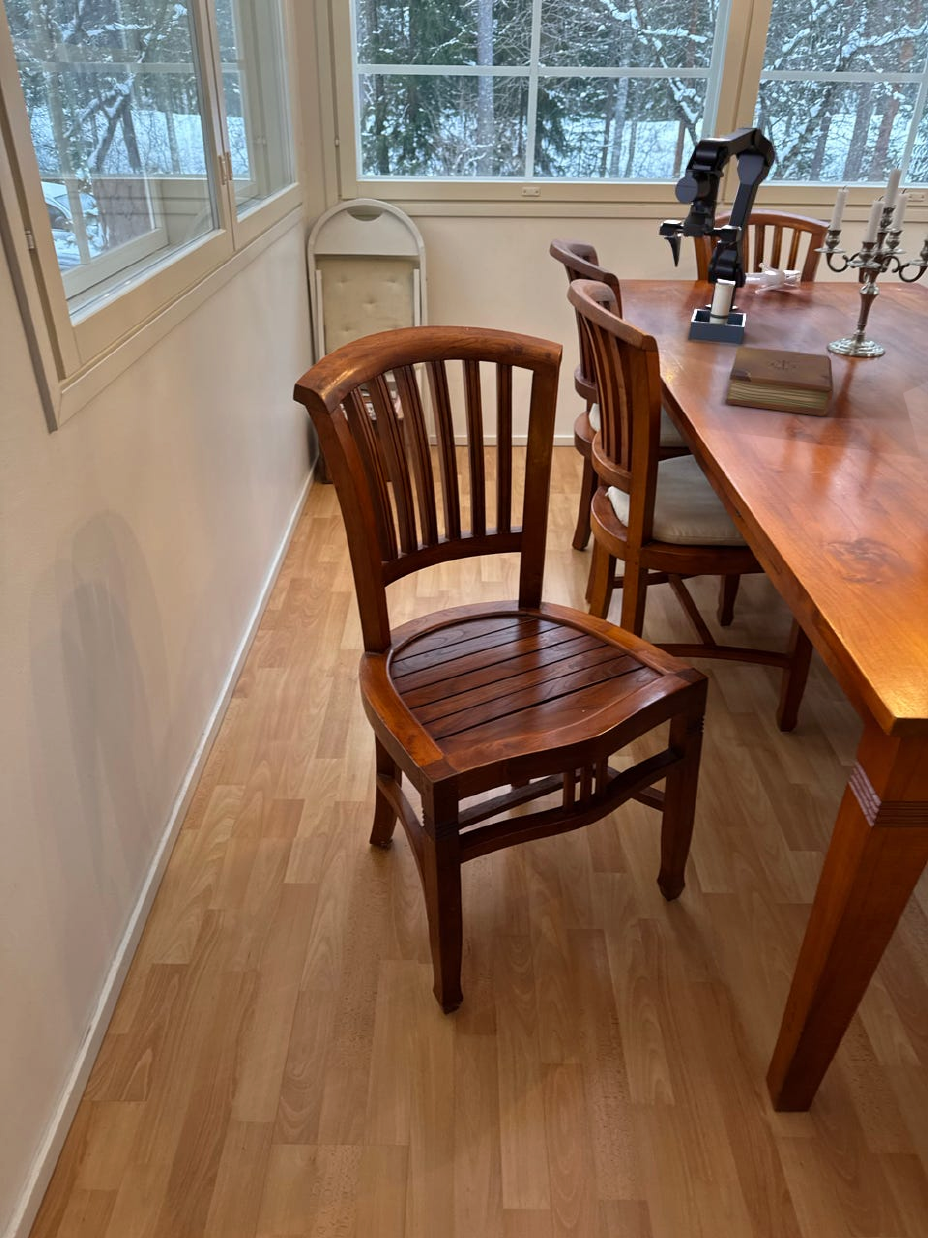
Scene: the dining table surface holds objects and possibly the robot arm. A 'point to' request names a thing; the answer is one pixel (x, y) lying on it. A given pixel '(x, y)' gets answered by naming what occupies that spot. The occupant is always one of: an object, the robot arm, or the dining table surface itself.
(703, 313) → the box
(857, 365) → the dining table surface
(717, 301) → the light grey piece
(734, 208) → the robot arm
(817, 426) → the dining table surface
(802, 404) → the diary
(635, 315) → the dining table surface
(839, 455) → the dining table surface
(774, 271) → the figurine
